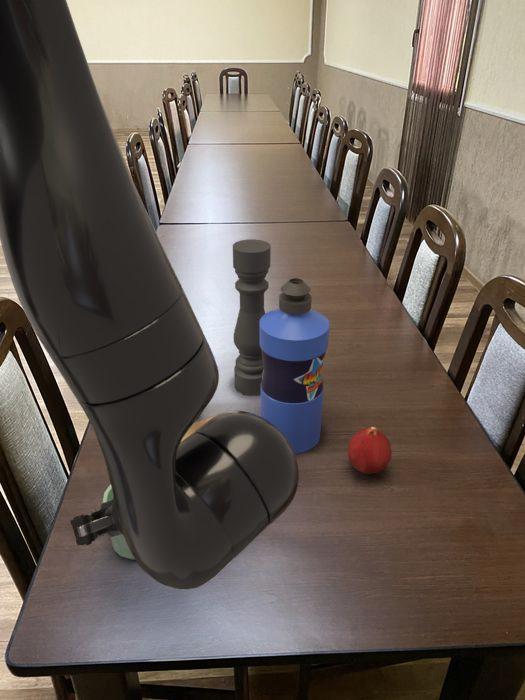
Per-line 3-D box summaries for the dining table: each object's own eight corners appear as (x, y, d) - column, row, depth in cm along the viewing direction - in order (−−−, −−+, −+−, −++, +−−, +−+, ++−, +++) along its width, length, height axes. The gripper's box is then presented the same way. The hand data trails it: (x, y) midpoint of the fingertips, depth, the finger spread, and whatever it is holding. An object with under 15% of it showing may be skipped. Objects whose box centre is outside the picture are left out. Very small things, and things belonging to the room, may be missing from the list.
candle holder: (238, 397, 89) (235, 255, 76) (231, 377, 94) (227, 240, 81) (274, 392, 90) (277, 251, 77) (265, 373, 95) (266, 237, 82)
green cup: (121, 571, 61) (112, 525, 57) (106, 530, 65) (96, 486, 62) (175, 548, 63) (170, 503, 59) (157, 510, 68) (150, 467, 64)
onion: (339, 460, 76) (343, 416, 72) (376, 454, 77) (383, 409, 73) (355, 490, 71) (361, 444, 67) (394, 482, 73) (403, 437, 68)
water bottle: (332, 430, 82) (346, 278, 69) (297, 463, 76) (305, 303, 63) (283, 407, 87) (287, 261, 74) (246, 436, 81) (244, 283, 68)
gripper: (223, 434, 49) (185, 454, 64) (64, 489, 43) (62, 497, 58) (251, 514, 48) (206, 515, 63) (90, 582, 42) (82, 566, 57)
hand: (137, 506), depth 60 cm, fingers open, 8 cm apart
